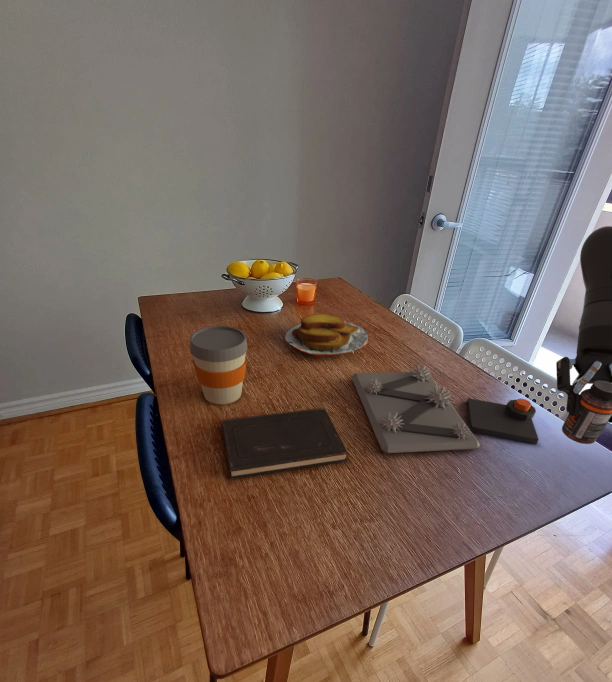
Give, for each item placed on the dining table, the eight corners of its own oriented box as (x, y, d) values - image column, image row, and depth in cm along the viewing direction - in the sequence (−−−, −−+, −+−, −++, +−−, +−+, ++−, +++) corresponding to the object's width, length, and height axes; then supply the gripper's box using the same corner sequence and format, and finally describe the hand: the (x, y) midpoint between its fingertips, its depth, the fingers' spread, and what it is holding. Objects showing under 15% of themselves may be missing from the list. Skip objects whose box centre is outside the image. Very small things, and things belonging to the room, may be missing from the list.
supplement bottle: (556, 423, 79) (582, 374, 72) (588, 428, 78) (617, 379, 71) (565, 442, 74) (594, 392, 67) (600, 448, 73) (632, 397, 67)
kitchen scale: (527, 412, 97) (532, 402, 95) (539, 444, 87) (544, 434, 85) (466, 401, 99) (469, 391, 98) (470, 431, 89) (474, 421, 88)
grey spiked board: (349, 379, 105) (353, 355, 100) (427, 377, 108) (433, 354, 103) (382, 457, 81) (388, 430, 77) (480, 452, 84) (491, 426, 80)
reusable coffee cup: (255, 403, 94) (253, 345, 85) (201, 413, 89) (194, 354, 81) (241, 376, 103) (238, 322, 94) (192, 384, 99) (184, 328, 90)
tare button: (526, 405, 94) (529, 399, 93) (529, 413, 92) (532, 407, 91) (512, 403, 95) (515, 397, 94) (514, 410, 92) (517, 404, 91)
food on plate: (327, 372, 107) (329, 350, 103) (268, 339, 121) (268, 319, 117) (384, 345, 122) (387, 325, 118) (325, 318, 136) (327, 300, 132)
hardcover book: (346, 461, 79) (348, 452, 78) (230, 479, 74) (229, 470, 72) (323, 414, 92) (323, 406, 90) (221, 426, 86) (221, 418, 85)
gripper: (571, 317, 72) (560, 407, 69) (661, 329, 69) (653, 423, 67) (552, 332, 79) (541, 414, 77) (632, 344, 76) (624, 429, 74)
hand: (593, 418), depth 72 cm, fingers closed on supplement bottle, 6 cm apart
